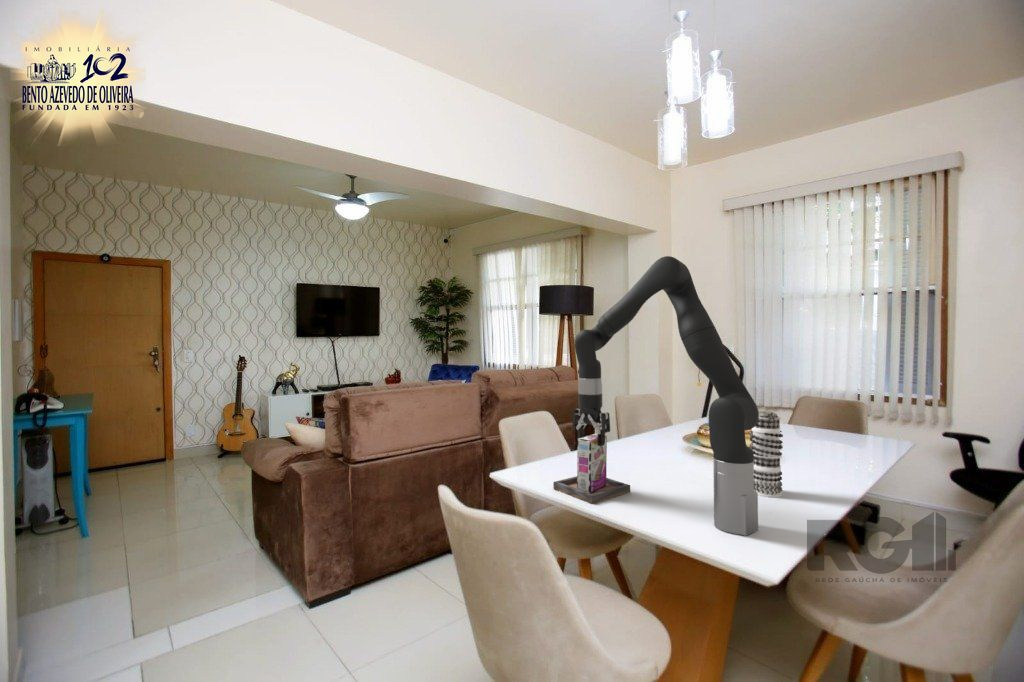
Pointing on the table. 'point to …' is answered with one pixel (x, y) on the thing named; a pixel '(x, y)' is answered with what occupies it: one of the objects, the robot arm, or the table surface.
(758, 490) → the decorative candle
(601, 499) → the wooden tray
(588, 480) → the candy bar box
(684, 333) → the robot arm
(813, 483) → the table surface
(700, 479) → the table surface
